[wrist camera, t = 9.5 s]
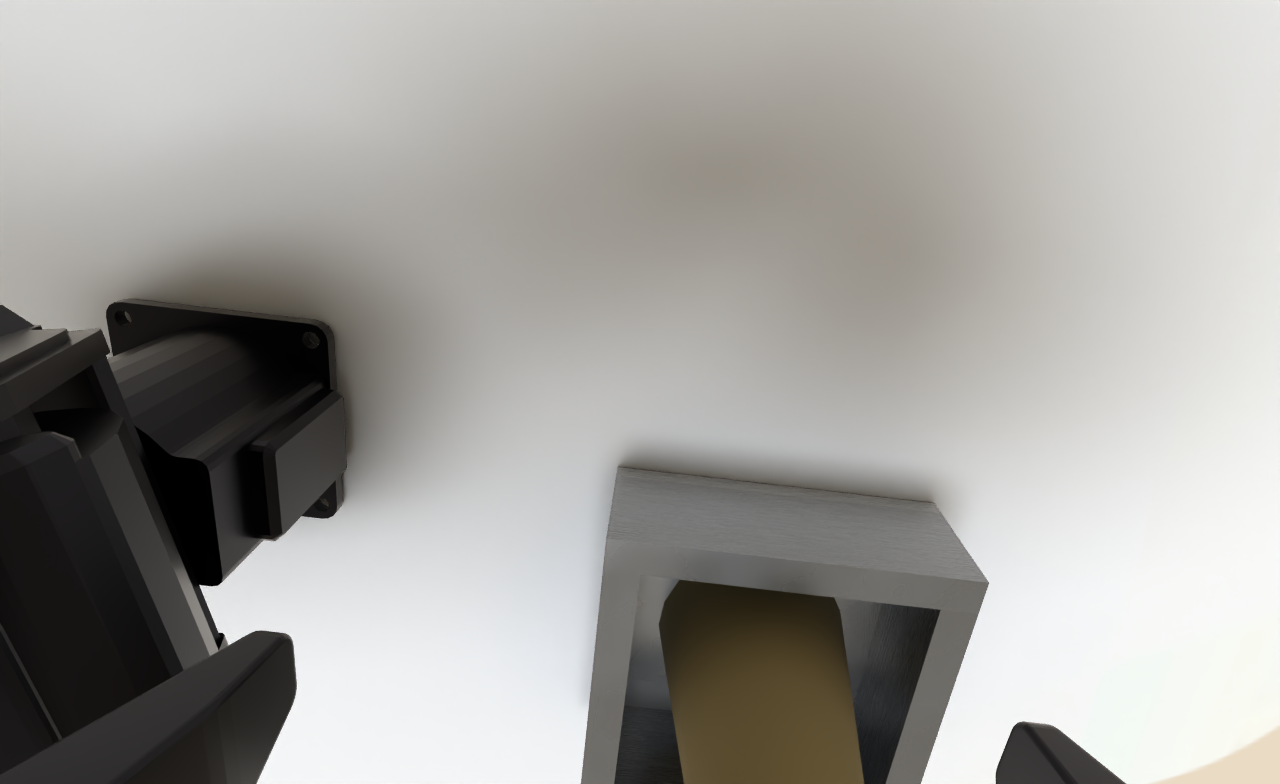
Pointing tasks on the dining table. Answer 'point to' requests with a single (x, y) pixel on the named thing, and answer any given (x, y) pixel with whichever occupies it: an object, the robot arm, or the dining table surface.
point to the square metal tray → (790, 562)
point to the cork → (759, 686)
